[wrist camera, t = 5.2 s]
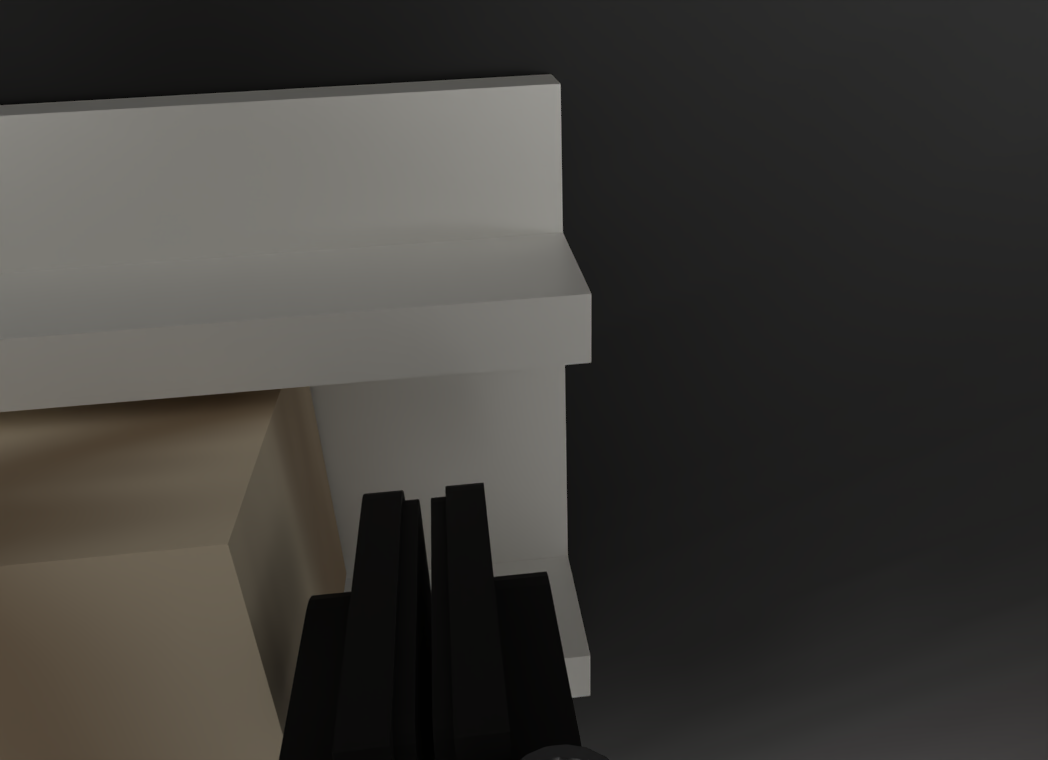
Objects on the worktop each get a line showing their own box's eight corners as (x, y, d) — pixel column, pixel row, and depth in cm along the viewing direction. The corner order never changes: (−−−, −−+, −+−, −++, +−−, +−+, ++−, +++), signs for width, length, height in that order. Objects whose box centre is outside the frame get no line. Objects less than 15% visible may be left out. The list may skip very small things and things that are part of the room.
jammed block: (299, 334, 12) (227, 543, 8) (346, 573, 15) (311, 833, 10) (-31, 361, 12) (-294, 594, 8) (72, 601, 14) (-83, 882, 10)
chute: (551, 74, 12) (595, 118, 9) (562, 634, 18) (592, 785, 15) (-670, 143, 11) (-1136, 225, 8) (-231, 720, 17) (-389, 905, 13)
